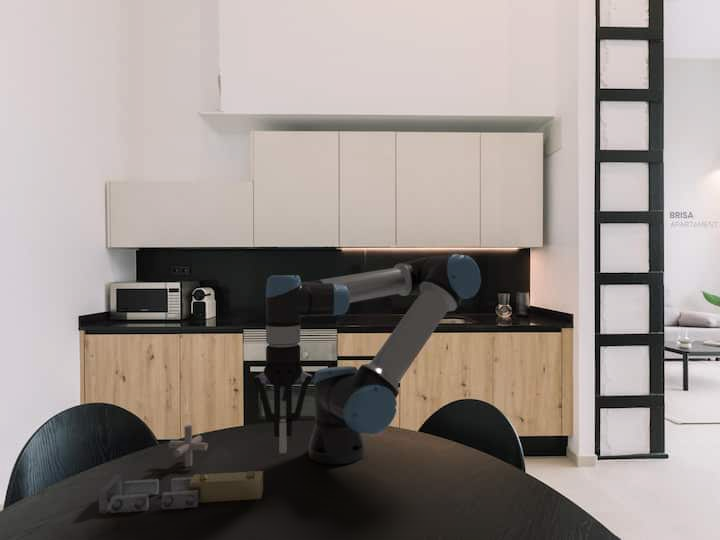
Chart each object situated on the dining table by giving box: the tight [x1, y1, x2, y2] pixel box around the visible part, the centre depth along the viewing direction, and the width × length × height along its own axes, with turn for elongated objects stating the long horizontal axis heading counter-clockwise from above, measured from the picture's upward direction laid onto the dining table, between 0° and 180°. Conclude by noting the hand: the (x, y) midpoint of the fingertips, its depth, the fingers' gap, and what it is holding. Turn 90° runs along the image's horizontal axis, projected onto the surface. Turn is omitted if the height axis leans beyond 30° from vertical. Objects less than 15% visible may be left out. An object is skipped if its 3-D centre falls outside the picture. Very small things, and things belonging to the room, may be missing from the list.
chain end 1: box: [98, 474, 160, 515], centre depth 97 cm, size 9×9×4 cm
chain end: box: [161, 476, 199, 511], centre depth 99 cm, size 7×9×3 cm
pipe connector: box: [168, 424, 209, 468], centre depth 116 cm, size 10×10×10 cm
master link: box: [189, 470, 264, 503], centre depth 100 cm, size 15×4×5 cm, turn 96°
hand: (283, 450), depth 101 cm, fingers closed
